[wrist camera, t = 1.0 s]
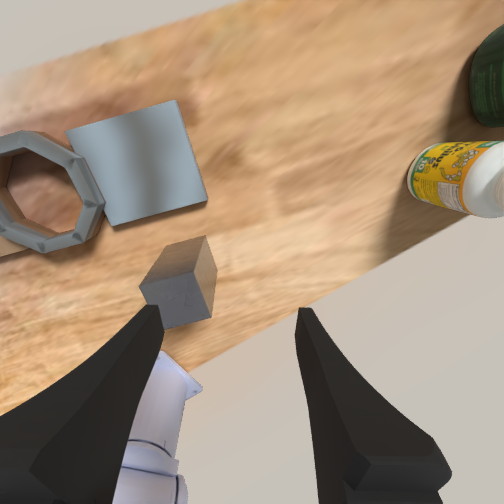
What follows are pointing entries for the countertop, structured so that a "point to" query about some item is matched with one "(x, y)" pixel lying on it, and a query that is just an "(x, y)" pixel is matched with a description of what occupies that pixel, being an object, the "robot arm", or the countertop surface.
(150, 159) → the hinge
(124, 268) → the countertop surface
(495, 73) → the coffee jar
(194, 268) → the grey metal brick
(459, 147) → the supplement bottle
